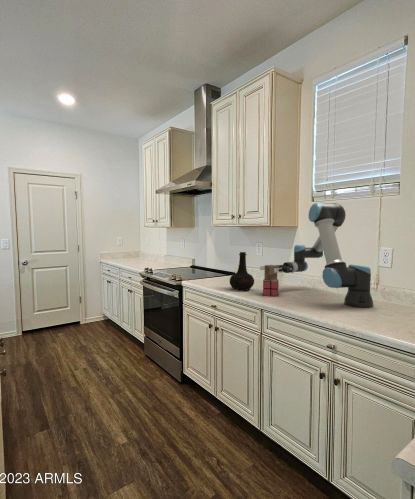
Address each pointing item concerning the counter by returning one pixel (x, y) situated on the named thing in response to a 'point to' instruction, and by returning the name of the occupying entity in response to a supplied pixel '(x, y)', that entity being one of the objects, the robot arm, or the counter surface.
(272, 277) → the walnut block
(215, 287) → the counter surface
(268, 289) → the puzzle cube
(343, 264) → the robot arm
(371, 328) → the counter surface
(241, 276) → the dark bulbous vase
